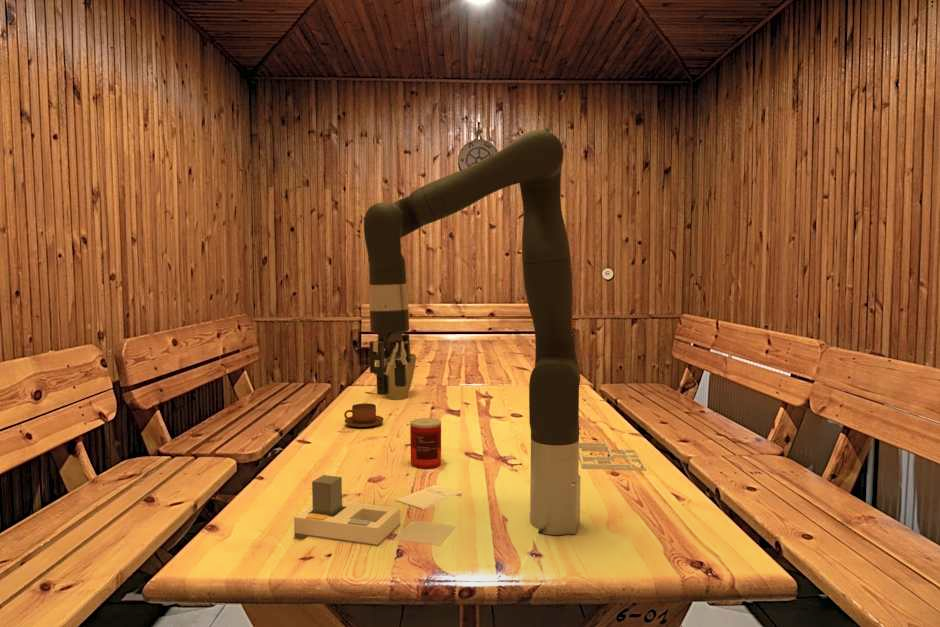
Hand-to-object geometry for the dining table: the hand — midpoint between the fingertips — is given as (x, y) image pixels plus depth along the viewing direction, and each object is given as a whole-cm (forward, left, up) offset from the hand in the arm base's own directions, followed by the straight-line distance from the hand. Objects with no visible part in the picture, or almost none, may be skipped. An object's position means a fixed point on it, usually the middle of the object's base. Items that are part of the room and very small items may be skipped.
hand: (392, 390), depth 130 cm
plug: (+10, +9, -25) cm, 28 cm away
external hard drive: (-3, -12, -27) cm, 30 cm away
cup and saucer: (+40, -67, -27) cm, 83 cm away
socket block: (+5, +9, -26) cm, 28 cm away
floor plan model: (-32, -53, -27) cm, 68 cm away
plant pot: (+47, -107, -26) cm, 120 cm away
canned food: (+7, -35, -26) cm, 45 cm away
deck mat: (-9, +6, -26) cm, 28 cm away
